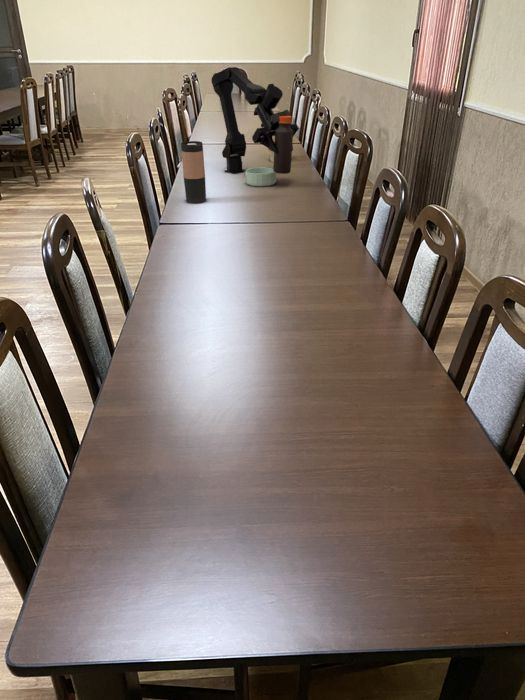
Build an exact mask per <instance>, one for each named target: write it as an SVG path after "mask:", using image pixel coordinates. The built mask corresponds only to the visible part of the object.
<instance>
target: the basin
mask: <svg viewBox="0 0 525 700" xmlns="http://www.w3.org/2000/svg"><path fill="white" fill-rule="evenodd" d="M244 172H245V183H246V184H247V185H248V186H251V187H260V188H261V187H270V186H273V185H275V184H276V183H277V173H275V172H274V171H273V167H263V166H262V167H261V166H259V167H257V166H256V167H252V168H251V167H250V168H247V169H245V170H244Z"/></svg>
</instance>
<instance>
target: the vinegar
mask: <svg viewBox="0 0 525 700" xmlns="http://www.w3.org/2000/svg"><path fill="white" fill-rule="evenodd" d="M279 119H280V121H279V123H278V124H279V127H278V128H277V129H276V130H275V145H276V147H277V149H278V154H276V153H274V162H273V165H272V168H273V171H274V172H275V173H276V174H281V175H283V174H284V175H285V174H290V173H291V169H292V155H293V151H292V144H293V141H294V136H293V130H292V129H291V127H290V125H291V124H292V119H293V117H292V115H291V116H279Z"/></svg>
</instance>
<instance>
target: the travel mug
mask: <svg viewBox="0 0 525 700" xmlns="http://www.w3.org/2000/svg"><path fill="white" fill-rule="evenodd" d="M180 149H181V150H180V151H181V163H182V173H183V174H182V175H183V183H184V185H183V186H184V193H185V201H186V203H188V204H202V203H205V202H206V201H207V188H206V187H207V186H206V170H205V159H204V158H205V156H204V146H203V142H202V141H198V140H189V141H187V140H186V141H183V142H181V143H180Z"/></svg>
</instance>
